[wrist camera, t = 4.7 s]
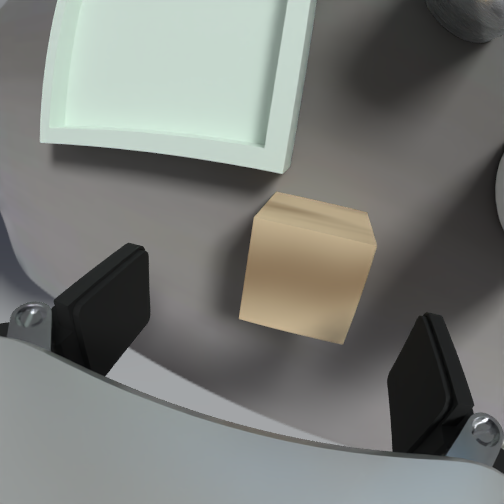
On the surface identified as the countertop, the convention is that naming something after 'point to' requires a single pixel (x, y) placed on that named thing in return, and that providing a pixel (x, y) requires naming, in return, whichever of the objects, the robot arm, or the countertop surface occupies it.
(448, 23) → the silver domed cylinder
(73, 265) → the countertop surface
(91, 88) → the sage tray
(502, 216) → the milk bottle
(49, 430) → the robot arm
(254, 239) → the oak block
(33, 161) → the countertop surface
